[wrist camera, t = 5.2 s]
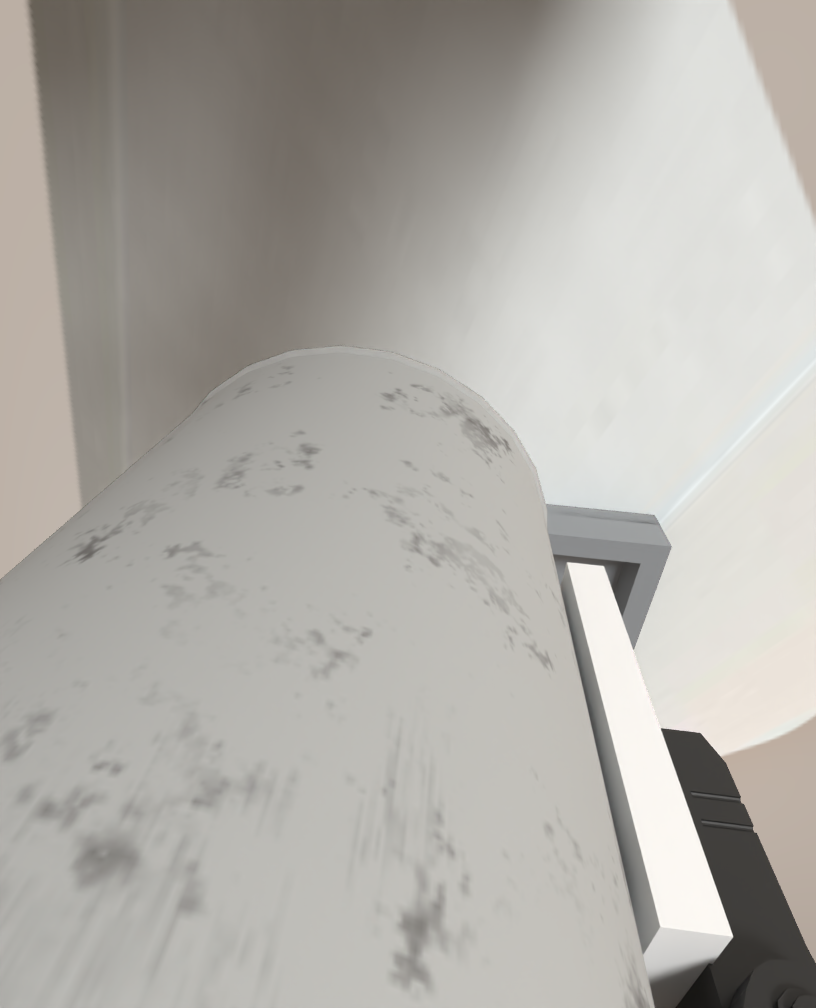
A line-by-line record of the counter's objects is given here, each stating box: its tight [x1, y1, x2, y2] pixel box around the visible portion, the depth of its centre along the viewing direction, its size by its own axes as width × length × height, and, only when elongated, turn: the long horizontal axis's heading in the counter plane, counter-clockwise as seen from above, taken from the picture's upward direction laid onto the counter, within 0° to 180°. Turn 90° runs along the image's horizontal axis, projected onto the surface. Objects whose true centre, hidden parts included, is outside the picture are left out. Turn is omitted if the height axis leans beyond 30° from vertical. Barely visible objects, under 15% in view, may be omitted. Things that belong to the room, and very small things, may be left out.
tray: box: [546, 504, 672, 650], centre depth 35 cm, size 20×20×3 cm
